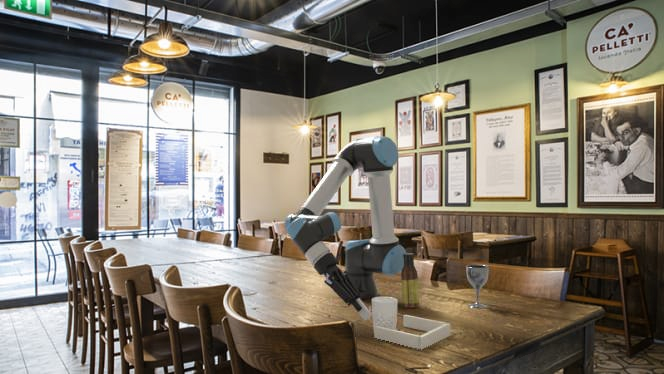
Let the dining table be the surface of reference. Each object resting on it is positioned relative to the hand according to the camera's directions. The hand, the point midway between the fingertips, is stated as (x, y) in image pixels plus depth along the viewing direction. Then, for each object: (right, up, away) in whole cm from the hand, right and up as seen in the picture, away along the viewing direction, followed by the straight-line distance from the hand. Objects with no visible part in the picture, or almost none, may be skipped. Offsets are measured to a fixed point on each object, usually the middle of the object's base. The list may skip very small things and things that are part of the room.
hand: (368, 318), depth 137 cm
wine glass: (+43, -5, +31) cm, 54 cm away
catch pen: (+12, -4, -5) cm, 14 cm away
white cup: (+5, -4, -1) cm, 6 cm away
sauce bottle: (+18, -5, +31) cm, 36 cm away
